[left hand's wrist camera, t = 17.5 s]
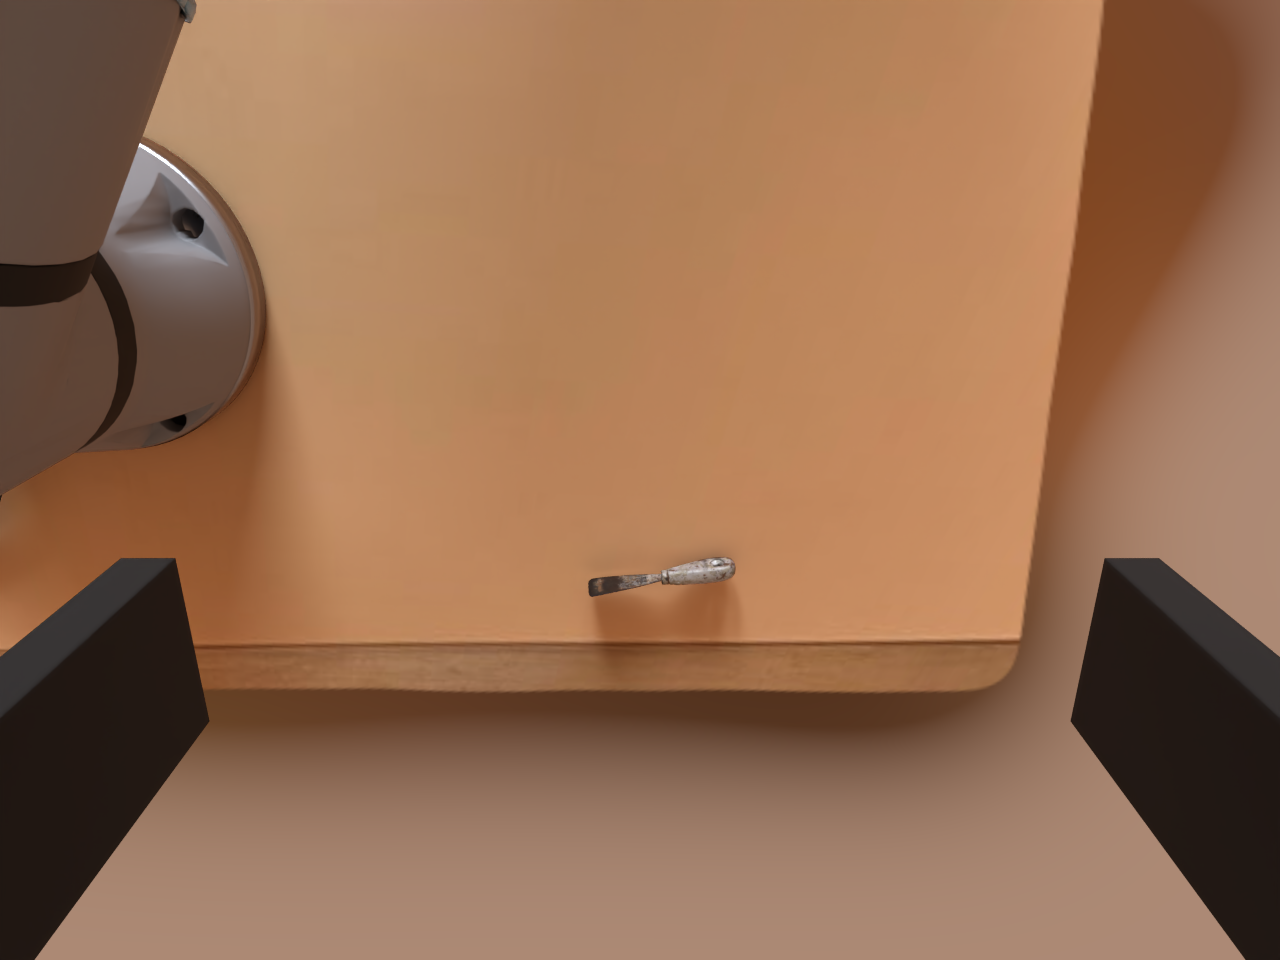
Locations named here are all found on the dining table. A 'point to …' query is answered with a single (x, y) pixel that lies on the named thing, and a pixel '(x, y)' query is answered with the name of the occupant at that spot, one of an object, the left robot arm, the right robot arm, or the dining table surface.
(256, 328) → the left robot arm
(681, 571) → the putty knife
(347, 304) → the dining table surface
